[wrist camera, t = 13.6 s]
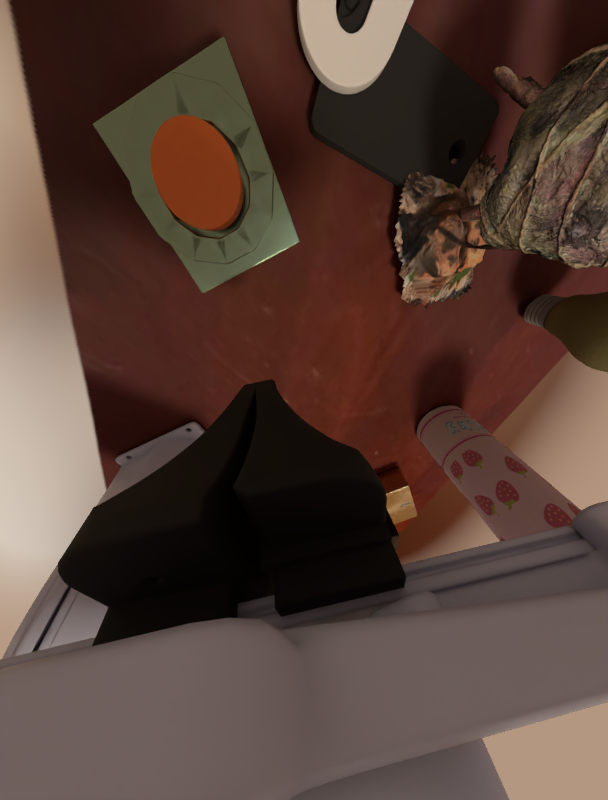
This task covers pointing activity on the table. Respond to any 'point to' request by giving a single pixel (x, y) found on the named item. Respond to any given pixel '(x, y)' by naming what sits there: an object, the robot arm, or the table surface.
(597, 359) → the light bulb
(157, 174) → the button
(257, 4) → the table surface
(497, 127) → the table surface
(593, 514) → the robot arm
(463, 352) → the table surface
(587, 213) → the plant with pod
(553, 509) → the beverage can
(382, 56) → the chain link
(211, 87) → the button block
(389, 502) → the panel
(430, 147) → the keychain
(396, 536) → the knob
